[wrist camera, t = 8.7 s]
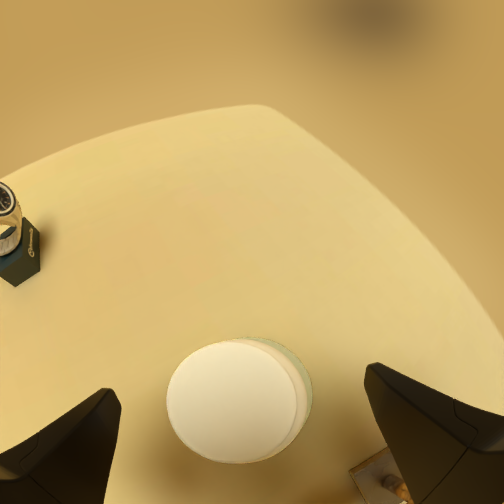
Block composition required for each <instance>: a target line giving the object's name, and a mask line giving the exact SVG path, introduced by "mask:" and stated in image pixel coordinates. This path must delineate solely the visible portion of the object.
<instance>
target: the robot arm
mask: <svg viewBox="0 0 504 504" xmlns="http://www.w3.org/2000/svg"><path fill="white" fill-rule="evenodd" d="M364 387H365V390H366V393H367V396H368V399H369V402H370V405H371V408H372V411H373V414H374V417H375V419H376V422H377V424H378V426H379V428H380V430H381V432H382V435H383V437H384V439H385V441H386V443H387V445H388V447H389V449H390V451H391V454H392V456H393V458H394V460H395V462H396V464H397V467H398V469H399V471H400V473H401V475H402V478H403V480H404V482H405V484H406V487H407V489H408V491H409V493H410V496H411V498H412V500H413V503H414V504H504V416H501V415H498V414H494V413H491V412H488V411H484V410H481V409H479V408H476V407H473V406H470V405H468V404H465V403H463V402H461V401H459V400H456V399H453V398H452V397H450V396H447V395H445V394H443V393H441V392H439V391H437V390H435V389H432V388H430V387H428V386H426V385H424V384H422V383H420V382H418V381H416V380H414V379H412V378H409V377H407V376H405V375H403V374H401V373H399V372H397V371H395V370H393V369H391V368H389V367H387V366H385V365H383V364H381V363H379V362H376V363H372V364H369V365H367V367H366V373H365V379H364ZM120 416H121V404H120V402H119V400H118V398H117V396H116V394H115V392H114V390H112V389H111V388H101V389H100V390H98V391H97V392H96V393H94V394H93V395H91V396H90V397H88V398H87V399H86V400H84V401H83V402H81V403H80V404H78V405H77V406H76V407H74V408H73V409H71V410H70V411H68V412H67V413H65V414H64V415H62V416H61V417H60V418H58V419H57V420H55V421H54V422H52V423H51V424H49V425H48V426H46V427H45V428H43V429H42V430H40V431H39V432H37V433H36V434H34V435H33V436H31V437H30V438H28V439H27V440H25V441H23V442H22V443H20V444H18V445H16V446H14V447H13V448H11V449H9V450H7V451H5V452H3V453H1V454H0V504H103V503H104V498H105V493H106V488H107V483H108V478H109V473H110V469H111V464H112V460H113V456H114V452H115V448H116V443H117V437H118V430H119V423H120Z"/></svg>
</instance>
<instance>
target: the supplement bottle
mask: <svg viewBox="0 0 504 504" xmlns="http://www.w3.org/2000/svg"><path fill="white" fill-rule="evenodd" d="M166 404H167V412H168V416H169V420H170V422H171V425H172V427H173V429H174V431H175V432H176V434H177V435H178V437H179V438H180V439H181V440H182V442H183V443H184V444H185V445H186V446H187V447H189V448H190V449H191V450H193V451H194V452H195V453H197V454H199V455H201V456H202V457H205V458H207V459H209V460H213V461H216V462H221V463H228V464H239V463H253V462H258V461H262V460H265V459H267V458H270V457H272V456H274V455H276V454H277V453H279V452H281V451H282V450H283V449H285V448H286V447H287V446H288V445H289V444H290V443H291V442H292V441H293V440H294V439H295V437H296V436H297V434H298V433H299V431H300V429H301V428H302V425H303V423H304V420H305V417H306V412H307V392H306V388H305V384H304V382H303V379H302V377H301V375H300V373H299V372H298V370H297V368H296V367H295V366H294V364H293V363H292V362H291V361H290V360H289V359H288V358H287V357H286V356H285V355H284V354H283V353H281V352H280V351H278V350H277V349H275V348H273V347H271V346H269V345H267V344H265V343H262V342H258V341H254V340H248V339H231V340H225V341H221V342H218V343H214V344H211V345H208V346H205V347H203V348H200V349H198V350H197V351H195V352H193V353H192V354H190V355H189V356H188V357H187V358H185V359H184V360H183V361H182V362H181V364H180V365H179V366H178V367H177V369H176V370H175V372H174V374H173V376H172V378H171V380H170V383H169V386H168V390H167V400H166Z"/></svg>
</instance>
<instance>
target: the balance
mask: <svg viewBox="0 0 504 504" xmlns="http://www.w3.org/2000/svg"><path fill="white" fill-rule="evenodd" d="M349 473H350V474H351V476H352V478H353V480H354V482H355V484H356V485H357V487H358V489H359V491H360V493H361V495H362V496H363V498H364V500H365V502H366V504H399V503H401V502H402V501H404V500H405V501H406V502H407V503H406V504H414V503H413V500H412V498H411V496H410V493H409V491H408V489H407V487H406V484H405V482H404V480H403V478H402V475H401V473H400V471H399V469H398V467H397V464H396V462H395V460H394V458H393V456H392V454H391V451H390V449H389V447H386V448H385V449H384V450H382V451H381V452H379V453H378V454H376V455H375V456H373V457H371V458H370V459H368V460H367V461H365V462H363V463H362V464H360V465H359V466H357V467H355V468H353V469H352V470H350V471H349Z"/></svg>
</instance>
